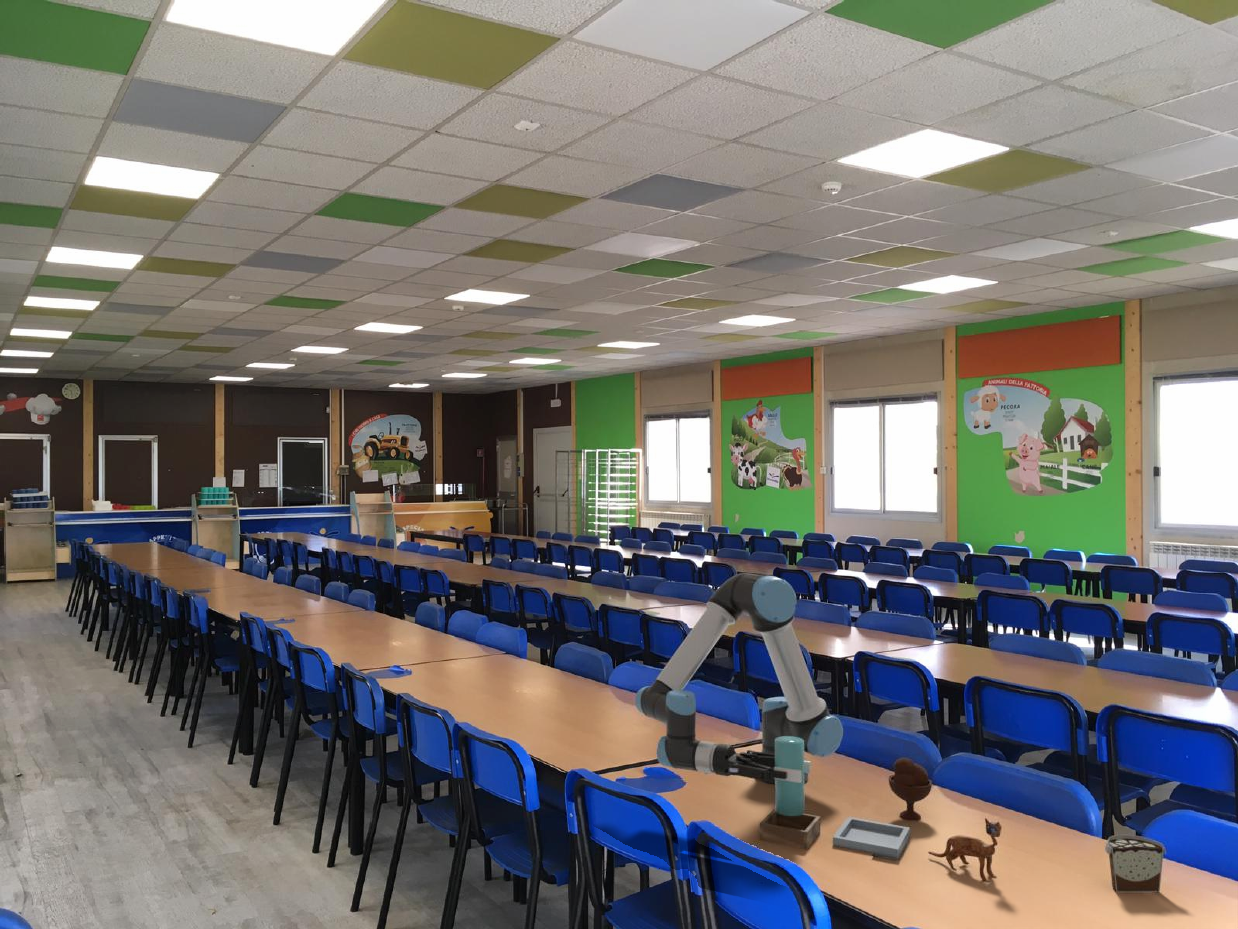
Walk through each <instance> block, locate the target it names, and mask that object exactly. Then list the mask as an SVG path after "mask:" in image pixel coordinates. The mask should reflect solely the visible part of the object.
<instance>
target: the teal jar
mask: <svg viewBox="0 0 1238 929" xmlns="http://www.w3.org/2000/svg"><path fill="white" fill-rule="evenodd" d="M804 758H805V751H804V740H803V739H801V738H798V737H792V736H782V737H777V738H775V767H781V768H788V769H794V770H801V772H802V782H801V783H798V782H791V781H785V780H779V779H775V784H774V800H775V801H774V803H775V804H774V807H775V808H774V809H775V811H776V812H777V813H779V814H781V815H785V816H799V815H802V814H805V808H806V807H805V805H806V804H805V803H806V802H805V796H806V795H805V782H804Z"/></svg>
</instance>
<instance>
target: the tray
mask: <svg viewBox="0 0 1238 929" xmlns="http://www.w3.org/2000/svg"><path fill="white" fill-rule="evenodd" d="M910 839H911V827H908V826H902V825H896V824H890V823H885V822H880V821H874V820H869V819H863V818H857V817H851V816H847V818H846V819H845V820H844V822H843V823H842V825H841V826H840V827H839V828H838V829H837V831H836V832H835V833H834V835H833V836H832V846H834V847H840V848H844V849H849V850H855V851H860V852H865V853H870V854H872V856H874V857H878V856H879V858H884V859H890V860H893V859H894V860H895V861H899V860H900V857H901V856H900V855H902V854H903V852H904V850H905V848H906V847H907V844H908V843H909V841H910Z"/></svg>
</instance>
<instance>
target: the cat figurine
mask: <svg viewBox="0 0 1238 929" xmlns="http://www.w3.org/2000/svg"><path fill="white" fill-rule="evenodd" d="M984 822H985V833H986V834H987V835H989V836H990V838H991V841H992V843H991V844H988V843H986V842H984V841H982V840H981V839H979V838H977V837H973V836H967V835H962V834H958V835H953V836H951V837H949V838H948V839H947V841H946V844H945V850H944V852H943V853H938V852H937V853H936V852H934V851H927V853H928V854H929V855H931V856H933V857H937V858H945V860H946V861H947V864H948V866H950V869H951V870H952V871H955V872H956V871H957V868H955V867H954V864H953V861H954V860H956V859H957V858H959V859H960V860H961V862H962V864H963V865H965V866H966V865H970V862H968V861H967V858H966V856H967V857H974V858H978V862H979V876H980V878H981V879H982V881H984V882H985V883H988V882H990V879H987V877H986V875H985V872H984V870H985V868H986V873H987V875H988V876H989V877H991V878H993V879H995V878H997V876H996V875H995V874H994V872H993V870H992V863H993V855H994V854H995V853H996V847H997V846H998V841H997V839H996V838H1000V836H1001V833H1002V828H1003V827H1002V825H1001V824H1000V821H997V822H995V821H989V820H988V819H987V818H986V817H985V818H984ZM985 866H986V867H985Z"/></svg>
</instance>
